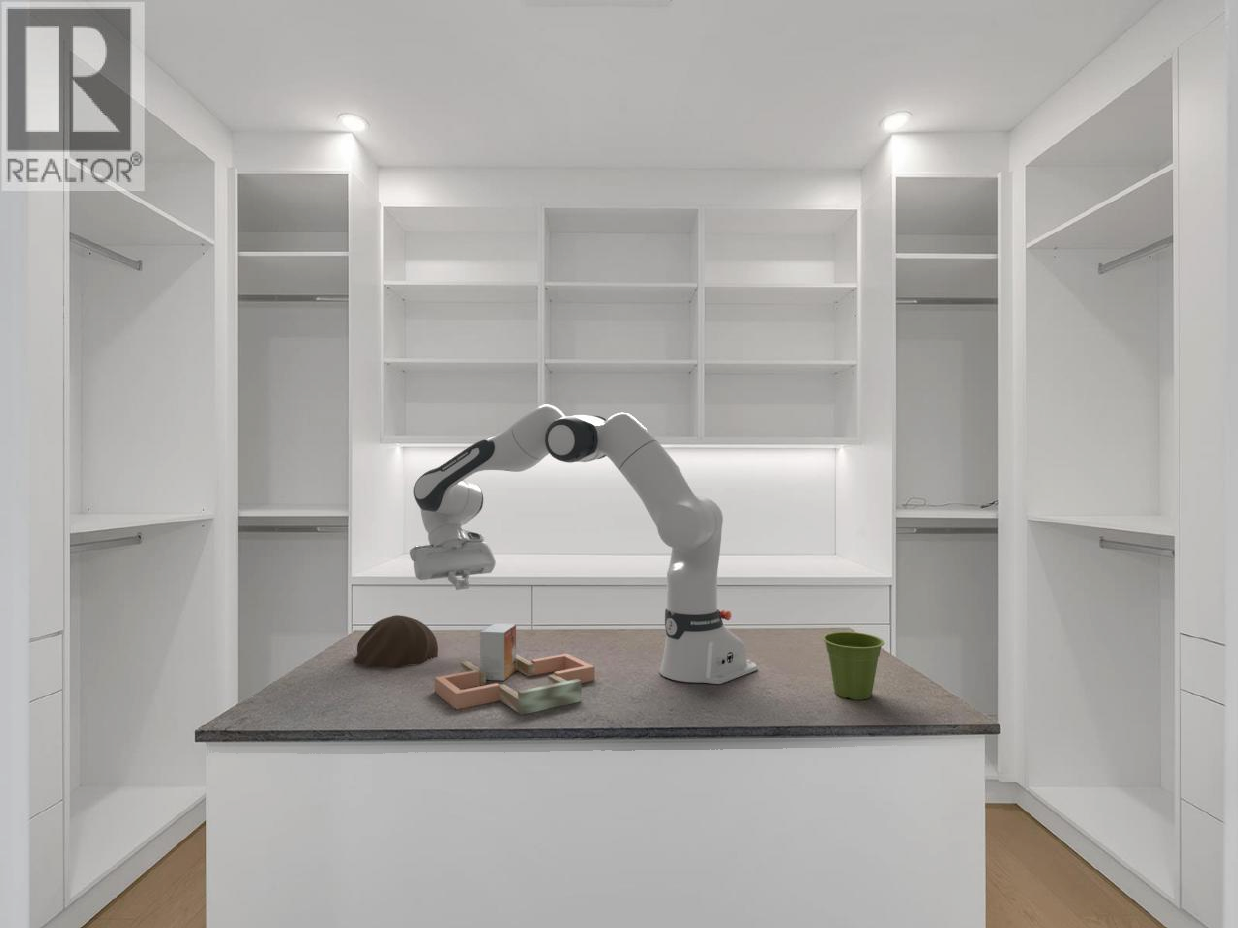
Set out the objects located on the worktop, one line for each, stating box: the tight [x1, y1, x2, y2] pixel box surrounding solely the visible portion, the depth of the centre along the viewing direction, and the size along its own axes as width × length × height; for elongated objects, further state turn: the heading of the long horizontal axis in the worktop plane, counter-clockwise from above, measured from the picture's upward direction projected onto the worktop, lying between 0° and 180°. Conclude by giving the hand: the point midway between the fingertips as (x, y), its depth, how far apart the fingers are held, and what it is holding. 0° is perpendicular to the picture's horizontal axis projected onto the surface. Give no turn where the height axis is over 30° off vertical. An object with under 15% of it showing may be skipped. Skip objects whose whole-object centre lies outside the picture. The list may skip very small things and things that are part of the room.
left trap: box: [434, 670, 501, 710], centre depth 141 cm, size 9×12×3 cm
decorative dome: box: [353, 614, 439, 669], centre depth 169 cm, size 19×20×10 cm
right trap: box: [530, 653, 596, 684], centre depth 153 cm, size 9×12×3 cm
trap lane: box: [459, 653, 582, 716], centre depth 147 cm, size 13×30×4 cm, turn 34°
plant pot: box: [822, 631, 885, 701], centre depth 142 cm, size 12×12×11 cm
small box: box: [479, 623, 517, 681], centre depth 154 cm, size 8×6×10 cm
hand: (463, 588), depth 172 cm, fingers closed
